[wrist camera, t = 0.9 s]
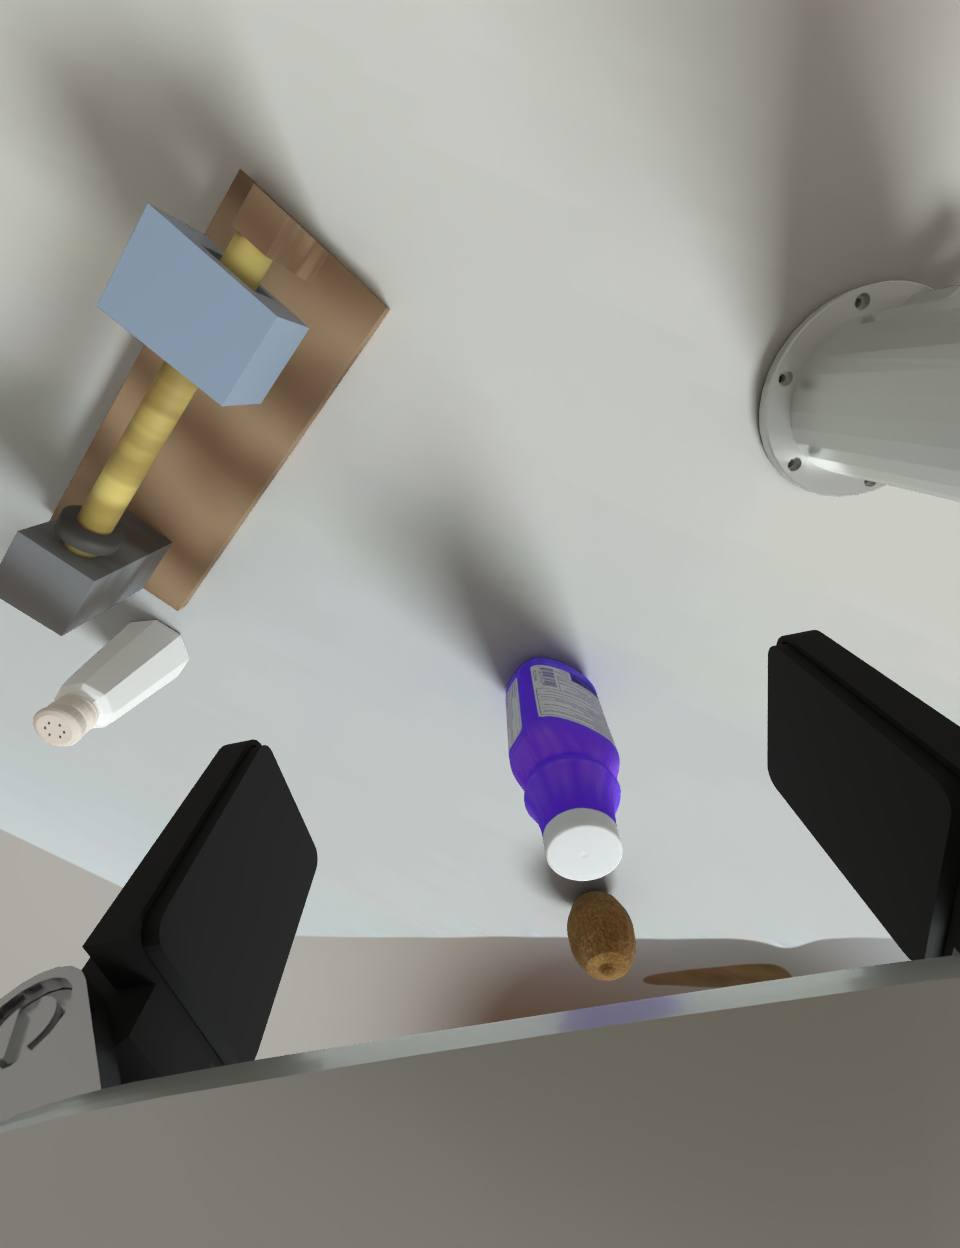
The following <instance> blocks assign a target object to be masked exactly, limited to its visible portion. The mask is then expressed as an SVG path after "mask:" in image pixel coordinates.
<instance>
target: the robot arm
mask: <svg viewBox="0 0 960 1248" xmlns="http://www.w3.org/2000/svg"><path fill="white" fill-rule="evenodd" d="M855 301H856V302H857V303H856V306H855ZM780 375H781V376H782V380H781V381H780V382H779V376H780ZM759 428H760V434H761V439H762V443H763V447H764V449H765V451H766V454H767V456H768V458H769V460H770V462H771V463H772V465H773V466H774V467H775V468H776V470H777V471H778V472H779V473H780V475H782V476H783V477H784V478H785V479H787V480H788V481H789V482H791V483H792V484H793V485H796V486H798V487H800V488H802V489H804V490H807V491H810V492H814V493H817V494H820V495H827V496H837V497H841V496H852V495H859V494H863V493H867V492H871V491H874V490H876V489H879V488H881V487H883V486H885V485H890V486H894V487H898V488H902V489H906V490H911V491H915V492H919V493H923V494H928V495H932V496H936V497H940V498H945V499H949V500H953V501H957V502H960V285H958V286H953V287H948V288H944V289H939V290H935V289H933V288H931V287H929V286H927V285H924V284H920V283H916V282H912V281H883V282H878V283H873V284H869V285H865V286H862V287H859V288H856V289H852V290H849V291H847V292H845V293H843V294H841V295H839V296H837V297H835V298H833V299H831V300H829V301H828V302H826V303H825V304H823V305H822V306H821V307H819V308H818V309H817V310H816V311H814V312H813V313H812V314H810V315H809V316H808V317H807V318H806V319H805V320H804V321H803V322H802V323H801V324H800V325H799V326H798V327H797V328H796V329H795V330H794V331H793V332H792V334H791V335H790V336H789V338H788V339H787V341H786V342H785V343H784V345H783V346H782V348H781V349H780V350H779V352H778V354H777V356H776V358H775V360H774V362H773V364H772V366H771V368H770V370H769V372H768V375H767V378H766V381H765V384H764V387H763V390H762V395H761V402H760V408H759ZM790 460H791V463H790V465H789V466H788V463H789V461H790ZM768 771H769V775H770V778H771V780H772V782H773V784H774V786H775V787H776V789H777V790H778V791H779V792H780V794H781V795H782V796H783V798H784V799H785V800H786V801H787V803H788V804H789V805H790V807H791V808H792V809H793V810H794V812H795V813H796V814H797V816H798V817H799V818H800V820H801V821H802V822H803V823H804V825H805V826H806V827H807V829H808V830H809V831H810V832H811V834H812V835H813V836H814V838H815V839H816V840H817V841H818V843H819V844H820V845H821V847H822V848H823V849H824V850H825V852H826V853H827V854H828V856H829V857H830V858H831V859H832V861H833V862H834V863H835V865H836V866H837V867H838V868H839V870H840V871H841V872H842V874H843V875H844V876H845V877H846V879H847V880H848V881H849V883H850V884H851V885H852V886H853V888H854V889H855V890H856V892H857V893H858V894H859V895H860V897H861V898H862V899H863V901H864V902H865V903H866V904H867V906H868V907H869V908H870V910H871V911H872V912H873V914H874V915H875V916H876V917H877V919H878V920H879V921H880V923H881V924H882V925H883V926H884V928H885V929H886V930H887V932H888V933H889V934H890V935H891V937H892V938H893V939H894V941H895V942H896V943H897V944H898V946H899V947H900V948H901V949H902V951H903V952H904V953H905V954H906V956H907V957H908V958H909V959H910V960H912V961H907V962H899V963H890V964H883V965H875V966H867V967H860V968H853V969H846V970H840V971H833V972H826V973H819V974H813V975H806V976H800V977H792V978H785V979H779V980H772V981H765V982H758V983H751V984H745V985H738V986H731V987H724V988H718V989H711V990H704V991H697V992H690V993H684V994H677V995H670V996H664V997H657V998H650V999H644V1000H637V1001H631V1002H624V1003H617V1004H611V1005H605V1006H598V1007H591V1008H585V1009H578V1010H572V1011H565V1012H559V1013H552V1014H546V1015H539V1016H532V1017H526V1018H520V1019H513V1020H507V1021H500V1022H494V1023H487V1024H481V1025H475V1026H468V1027H461V1028H455V1029H449V1030H442V1031H435V1032H429V1033H423V1034H417V1035H410V1036H405V1037H398V1038H391V1039H385V1040H380V1041H373V1042H366V1043H360V1044H354V1045H348V1046H341V1047H335V1048H329V1049H323V1050H316V1051H310V1052H304V1053H297V1054H292V1055H285V1056H280V1057H273V1058H267V1059H260V1060H254V1059H255V1057H256V1055H257V1052H258V1049H259V1046H260V1043H261V1040H262V1037H263V1034H264V1031H265V1027H266V1024H267V1021H268V1018H269V1015H270V1012H271V1008H272V1005H273V1002H274V999H275V996H276V993H277V990H278V987H279V983H280V980H281V977H282V974H283V971H284V968H285V965H286V961H287V958H288V955H289V952H290V949H291V946H292V943H293V940H294V937H295V933H296V930H297V927H298V924H299V921H300V918H301V915H302V912H303V908H304V905H305V902H306V899H307V896H308V893H309V890H310V887H311V883H312V880H313V877H314V874H315V871H316V867H317V851H316V847H315V845H314V843H313V841H312V838H311V836H310V834H309V832H308V830H307V827H306V825H305V823H304V821H303V819H302V816H301V814H300V812H299V810H298V808H297V805H296V803H295V801H294V799H293V797H292V794H291V792H290V790H289V788H288V786H287V783H286V781H285V779H284V777H283V775H282V773H281V770H280V768H279V766H278V764H277V762H276V759H275V757H274V755H273V753H272V751H271V749H270V748H269V747H268V746H266V745H263V746H262V745H261V744H260V743H259V742H258V741H257V740H249V741H243V742H238V743H233V744H228V745H225V746H223V747H222V748H221V749H220V750H219V751H218V752H217V754H216V755H215V757H214V758H213V760H212V761H211V763H210V764H209V765H208V767H207V768H206V770H205V771H204V773H203V774H202V775H201V777H200V778H199V780H198V781H197V783H196V784H195V786H194V787H193V788H192V790H191V791H190V793H189V794H188V796H187V797H186V798H185V800H184V801H183V803H182V804H181V806H180V807H179V808H178V810H177V811H176V813H175V814H174V816H173V817H172V819H171V820H170V821H169V823H168V824H167V826H166V827H165V829H164V830H163V831H162V833H161V834H160V836H159V837H158V839H157V840H156V842H155V843H154V844H153V846H152V847H151V849H150V850H149V852H148V853H147V854H146V856H145V857H144V859H143V860H142V862H141V863H140V865H139V866H138V867H137V869H136V870H135V872H134V873H133V875H132V876H131V877H130V879H129V880H128V882H127V883H126V885H125V886H124V887H123V889H122V890H121V892H120V893H119V895H118V896H117V898H116V899H115V901H114V902H113V903H112V905H111V906H110V908H109V909H108V910H107V912H106V913H105V915H104V916H103V918H102V919H101V921H100V922H99V923H98V925H97V926H96V928H95V929H94V931H93V932H92V933H91V935H90V936H89V938H88V939H87V941H86V942H85V944H84V945H83V946H82V947H83V948H84V949H85V951H86V952H87V953H88V954H89V956H90V959H89V960H88V962H87V963H86V965H85V966H84V967H83V969H82V970H80V969H78V968H75V967H73V966H65V967H57V968H54V969H51V970H48V971H45V972H43V973H40V974H38V975H37V976H34V977H33V978H31V979H29V980H27V981H25V982H24V983H22V984H20V985H19V986H18V987H16V988H15V989H13V990H12V991H11V992H9V993H8V994H7V995H5V996H4V997H2V998H1V999H0V1248H960V727H959V726H958V725H956V724H955V723H954V722H952V721H951V720H949V719H948V718H946V717H945V716H943V715H942V714H940V713H939V712H937V711H936V710H934V709H933V708H932V707H930V706H929V705H927V704H926V703H924V702H923V701H921V700H920V699H918V698H917V697H915V696H914V695H912V694H911V693H910V692H908V691H907V690H905V689H904V688H902V687H901V686H899V685H898V684H896V683H895V682H893V681H892V680H890V679H889V678H887V677H886V676H885V675H883V674H882V673H880V672H879V671H877V670H876V669H874V668H873V667H871V666H870V665H868V664H867V663H865V662H864V661H863V660H861V659H860V658H858V657H857V656H855V655H854V654H852V653H851V652H849V651H848V650H846V649H845V648H843V647H842V646H841V645H839V644H838V643H836V642H835V641H833V640H832V639H830V638H829V637H827V636H826V635H824V634H823V633H821V632H820V631H817V630H811V631H806V632H801V633H796V634H791V635H785V636H781V637H780V638H779V639H778V641H777V645H776V646H772V647H771V648H770V649H769V652H768Z"/></svg>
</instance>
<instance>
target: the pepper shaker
mask: <svg viewBox="0 0 960 1248" xmlns="http://www.w3.org/2000/svg"><path fill="white" fill-rule="evenodd" d="M188 660H189V656H188V653H187V650H186V648H185V645H184V642H183V640H182V637H181V635H180V634H179V633H177V632H175V631H174V630H172V629H171V628H169V627H167V626H166V625H164V624H162V623H161V622H159V621H158V620H149V621H139V622H130V623H129V624H128V625H127V626H126V627H125V628H123V629H122V630H121V631H120V632H119V633H118V634H117V635H116V636H115V637H114V638H113V639H111V640H110V641H109V642H108V643H107V644H106V645H105V646H104V647H103V648H102V649H100V650H99V651H98V652H97V653H96V654H95V655H94V656H93V657H92V658H91V659H90V660H88V661H87V662H86V663H85V664H84V665H83V666H82V667H81V668H80V669H79V670H77V671H76V672H75V673H74V674H73V675H72V676H71V677H70V678H69V679H68V680H67V681H66V682H65V683H64V684H63V685H62V687H61V689H60V690H59V692H58V694H57V696H56V697H55V699H54V700H55V701H54V702H53V703H51V704H50V705H49V706H47V707H46V708H43V709H41V710H40V711H38V712H37V713H36V714H35V716H34V720H33V725H34V729H35V731H36V733H37V734H38V735H39V736H40V737H41V738H42V739H43V740H44V741H46V742H48V743H50V744H52V745H56V746H71V745H74V744H76V743H77V742H78V741H79V740H80V739H81V737H82V736H83V735H84V734H86V733H87V732H88V731H89V730H90V729H91V728H100V727H105V726H107V725H109V724H110V723H112V722H113V721H115V720H116V719H118V718H119V717H120V716H122V715H123V714H125V713H126V712H128V711H129V710H130V709H132V708H133V707H135V706H136V705H137V704H139V703H140V702H142V701H143V700H145V699H146V698H147V697H149V696H150V695H152V694H153V693H154V692H156V691H157V690H159V689H160V688H162V687H163V686H164V685H166V684H167V683H169V682H170V681H172V680H173V679H174V678H176V677H177V676H178V675H179V673H180V672H181V670H182V669H183V667H184V666H185V664H186V663H187V661H188Z"/></svg>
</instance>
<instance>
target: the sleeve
mask: <svg viewBox="0 0 960 1248" xmlns="http://www.w3.org/2000/svg"><path fill="white" fill-rule="evenodd" d="M223 254H224V252H223V251H222V250H221V249H220V248H219V247H218V246H217V245H215V244H214V243H213V242H212V241H211V240H210V239H209V238H208V237H206V236H205V235H204V234H202V233H201V232H199V231H197V230H195V229H194V228H192V227H190V226H188V225H186V224H185V223H183V222H181V221H179V220H177V219H176V218H174V217H172V216H170V215H168V214H167V213H165V212H163V211H161V210H160V209H158V208H156V207H154V206H152V205H151V204H149V203H148V204H147V206H146V208H145V210H144V212H143V214H142V216H141V218H140V220H139V222H138V224H137V226H136V228H135V230H134V232H133V234H132V236H131V238H130V240H129V242H128V244H127V246H126V248H125V250H124V252H123V254H122V256H121V258H120V260H119V262H118V264H117V266H116V268H115V270H114V272H113V274H112V276H111V278H110V280H109V282H108V284H107V286H106V288H105V290H104V293H103V295H102V297H101V299H100V301H99V303H98V305H97V307H98V308H100V309H101V310H102V311H103V312H105V313H106V314H107V315H108V316H110V317H111V318H112V319H113V320H115V321H116V322H117V323H118V324H120V325H121V326H122V327H123V328H125V329H126V330H127V331H128V332H130V333H131V334H132V335H133V336H135V337H136V338H137V339H138V340H140V341H141V342H142V343H143V344H145V345H146V346H147V347H148V348H150V349H151V350H152V351H153V352H155V353H156V354H157V355H158V356H160V357H161V358H162V359H163V360H165V361H166V362H167V363H168V364H170V365H171V366H172V367H173V368H175V369H176V370H177V371H178V372H180V373H181V374H182V375H183V376H185V377H186V378H187V379H188V380H190V381H191V382H192V383H193V384H195V385H196V386H197V387H198V388H200V389H201V390H202V391H203V392H205V393H206V394H207V395H208V396H210V397H211V398H212V399H213V400H215V401H216V402H217V403H218V404H220V405H221V406H234V405H248V404H261V403H262V401H263V400H264V398H265V396H266V395H267V393H268V392H269V390H270V389H271V387H272V386H273V384H274V383H275V381H276V379H277V378H278V376H279V375H280V373H281V372H282V370H283V369H284V367H285V366H286V364H287V362H288V361H289V359H290V358H291V356H292V355H293V353H294V352H295V350H296V348H297V347H298V345H299V344H300V342H301V341H302V339H303V338H304V336H305V335H306V333H307V331H308V330H309V327H308V326H307V325H306V324H304V323H303V322H302V321H301V320H300V319H299V318H298V317H297V316H295V315H294V314H293V313H292V312H291V311H290V310H289V309H288V308H286V307H285V306H284V305H283V304H282V303H281V302H280V301H279V300H277V299H276V298H275V297H274V296H273V295H272V294H271V293H270V292H268V291H267V290H266V289H265V288H264V287H263V286H262V285H261V284H259V286H258V287H257V289H256V291H253V290H252V289H251V288H250V287H248V286H247V285H246V284H245V283H244V282H243V281H242V280H240V279H239V278H238V277H237V276H236V275H235V274H234V273H232V272H231V271H230V270H229V269H228V268H227V267H226V266H225V265H223V264H222V263H221V262H220V260H221V258H222V256H223Z"/></svg>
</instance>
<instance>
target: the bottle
mask: <svg viewBox="0 0 960 1248" xmlns="http://www.w3.org/2000/svg"><path fill="white" fill-rule="evenodd" d="M506 715H507V732H508V749H509V758H510V765H511V769H512V772H513V775H514V777H515V778H516V780H517V782H518V783H519V785H520V786H521V787H522V789H523V790H524V791H525V793H524V801H525V807H526V809H527V811H528V813H529V815H530V816H531V817H532V818H533V819H534V820H535V821H536V822H537V823H538V824H539V827H540V829H541V832H542V836H543V843H544V847H545V853H546V859H547V862H548V864H549V866H550V867H551V868H552V869H553V870H554V871H555V872H556V873H557V874H559V875H560V876H562V877H564V878H567V879H570V880H576V881H589V880H594V879H598V878H601V877H603V876H605V875H607V874H608V873H610V872H611V871H612V870H614V869H615V868H616V866H617V865H618V864H619V862H620V860H621V857H622V852H623V848H622V843H621V840H620V837H619V831H618V828H617V824H616V819H615V813H616V811H617V809H618V806H619V802H620V793H621V790H620V785H619V783H618V781H617V775H618V772H619V764H620V761H619V754H618V752H617V749H616V746H615V744H614V741H613V738H612V736H611V733H610V730H609V727H608V725H607V722H606V719H605V716H604V714H603V711H602V708H601V705H600V702H599V699H598V697H597V693H596V690H595V688H594V686H593V685H592V684H591V682H590V681H589V680H588V679H587V678H586V677H585V676H583V675H582V674H581V673H580V672H578V671H577V670H575V669H574V668H572V667H570V666H568V665H566V664H564V663H561V662H559V661H556V660H552V659H548V658H535V657H534V658H531V659H530V660H528V661H526V662H525V663H524V664H522V665H521V666H520V667H519V668H518V670H517V672H516V673H515V674H514V675H513V677H512V678H511V680H510V682H509V684H508V688H507V691H506Z"/></svg>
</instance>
